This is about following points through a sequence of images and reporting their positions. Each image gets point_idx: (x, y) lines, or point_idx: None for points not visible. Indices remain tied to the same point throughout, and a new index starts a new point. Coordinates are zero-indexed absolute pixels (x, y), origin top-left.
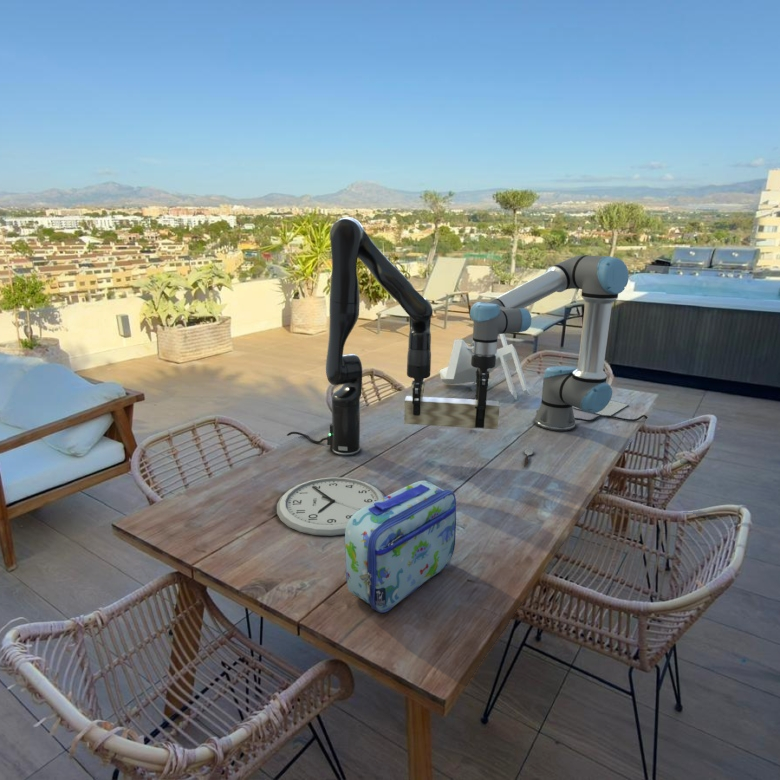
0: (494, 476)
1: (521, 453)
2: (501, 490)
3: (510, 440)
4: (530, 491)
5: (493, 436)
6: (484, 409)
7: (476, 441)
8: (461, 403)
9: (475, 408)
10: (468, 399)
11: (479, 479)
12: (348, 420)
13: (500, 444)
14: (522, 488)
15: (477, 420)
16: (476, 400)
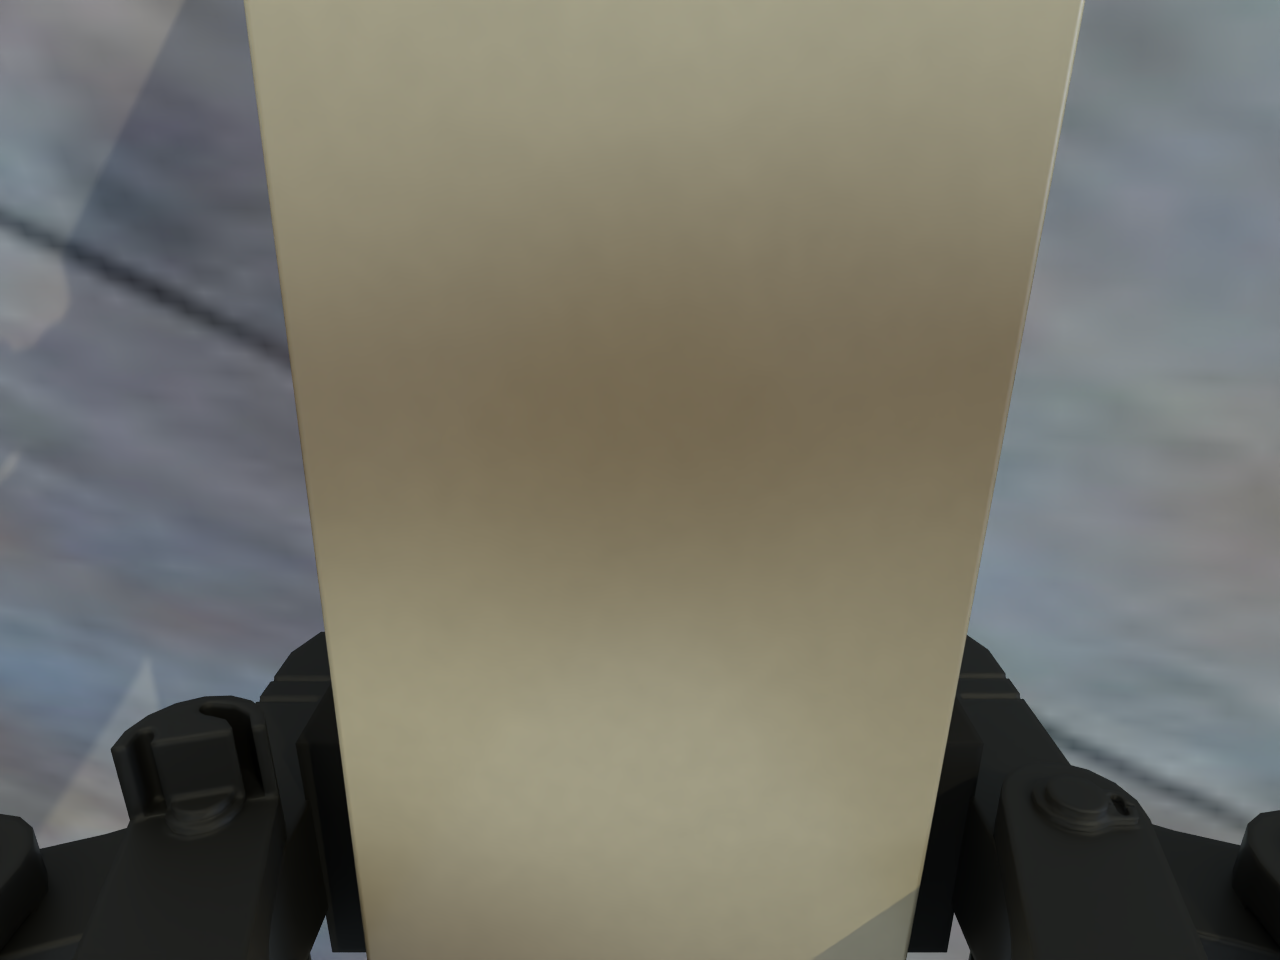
0: (276, 527)
1: None
2: (20, 562)
3: (1122, 730)
4: (93, 764)
5: (1242, 590)
6: (337, 911)
7: (1116, 408)
8: (288, 230)
9: (195, 718)
10: (934, 561)
11: (167, 389)
12: None
13: (1025, 637)
14: (123, 717)
15: None
16: (827, 828)
